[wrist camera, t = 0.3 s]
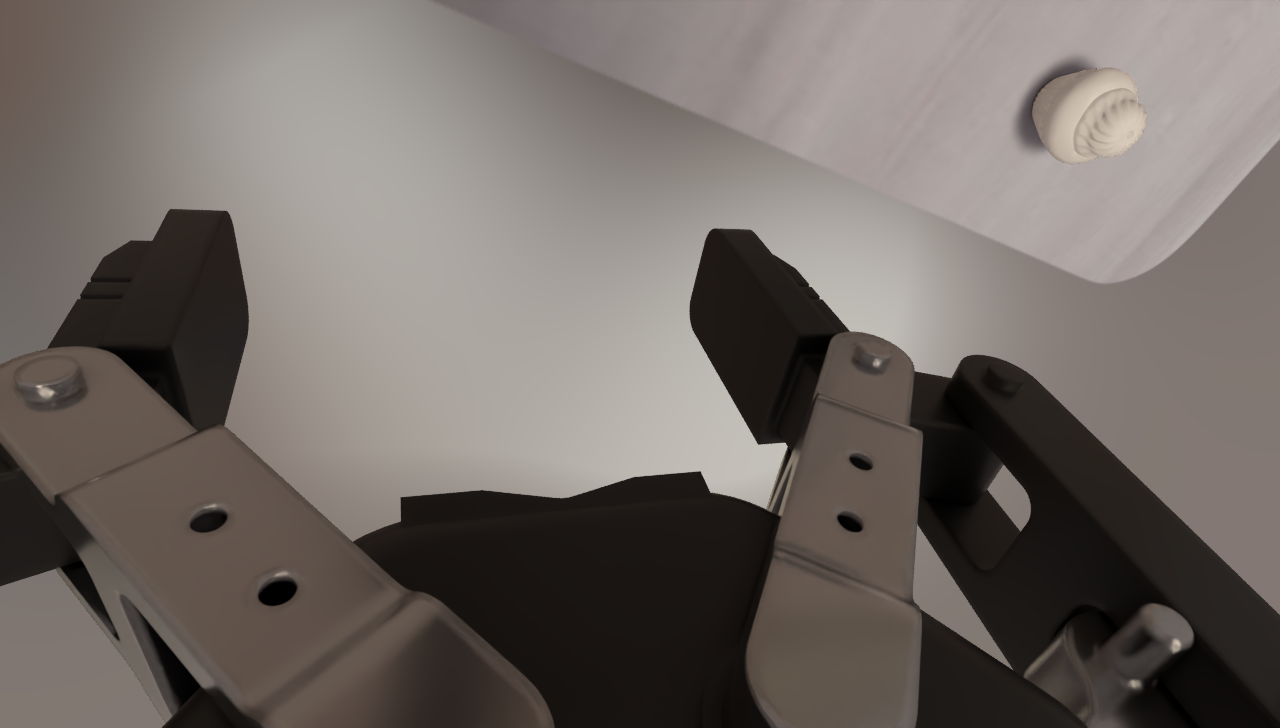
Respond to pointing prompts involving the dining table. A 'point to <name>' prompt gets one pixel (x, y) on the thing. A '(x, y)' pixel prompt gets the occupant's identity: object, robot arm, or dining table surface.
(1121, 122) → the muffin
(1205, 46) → the dining table surface
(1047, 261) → the dining table surface
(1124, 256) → the dining table surface
